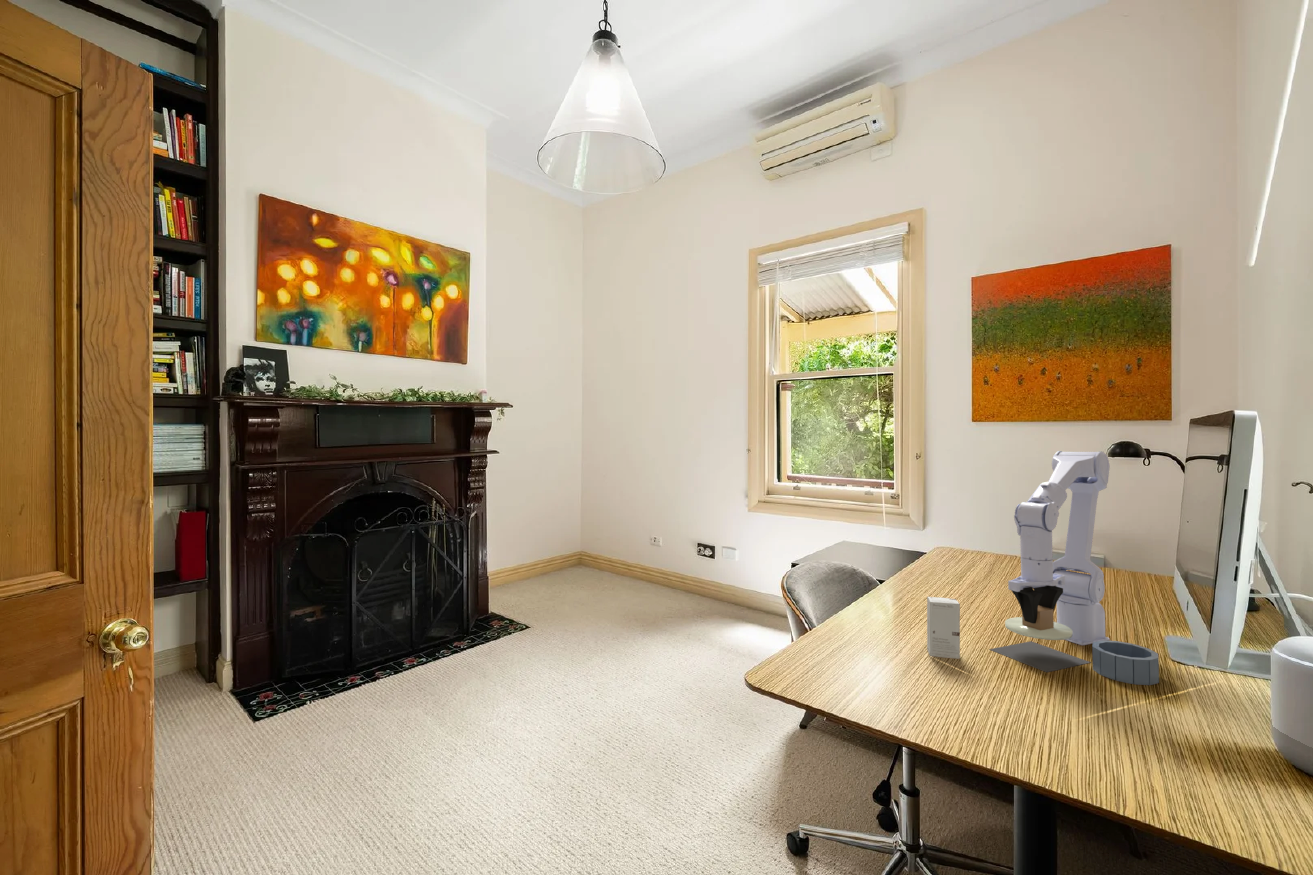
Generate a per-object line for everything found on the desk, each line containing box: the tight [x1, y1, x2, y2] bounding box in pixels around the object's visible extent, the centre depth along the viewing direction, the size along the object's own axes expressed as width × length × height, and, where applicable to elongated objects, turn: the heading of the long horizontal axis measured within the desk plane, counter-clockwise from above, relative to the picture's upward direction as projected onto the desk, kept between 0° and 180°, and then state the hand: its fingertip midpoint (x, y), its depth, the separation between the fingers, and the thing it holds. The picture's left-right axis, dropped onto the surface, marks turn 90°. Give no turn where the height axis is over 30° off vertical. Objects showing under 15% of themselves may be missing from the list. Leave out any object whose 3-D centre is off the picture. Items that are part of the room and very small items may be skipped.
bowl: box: [1091, 640, 1160, 686], centre depth 111 cm, size 10×10×5 cm
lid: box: [1004, 605, 1073, 641], centre depth 120 cm, size 12×12×5 cm
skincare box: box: [926, 596, 961, 660], centre depth 122 cm, size 6×4×12 cm
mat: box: [988, 640, 1092, 673], centre depth 120 cm, size 13×13×1 cm
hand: (1037, 620), depth 120 cm, fingers closed on lid, 4 cm apart
